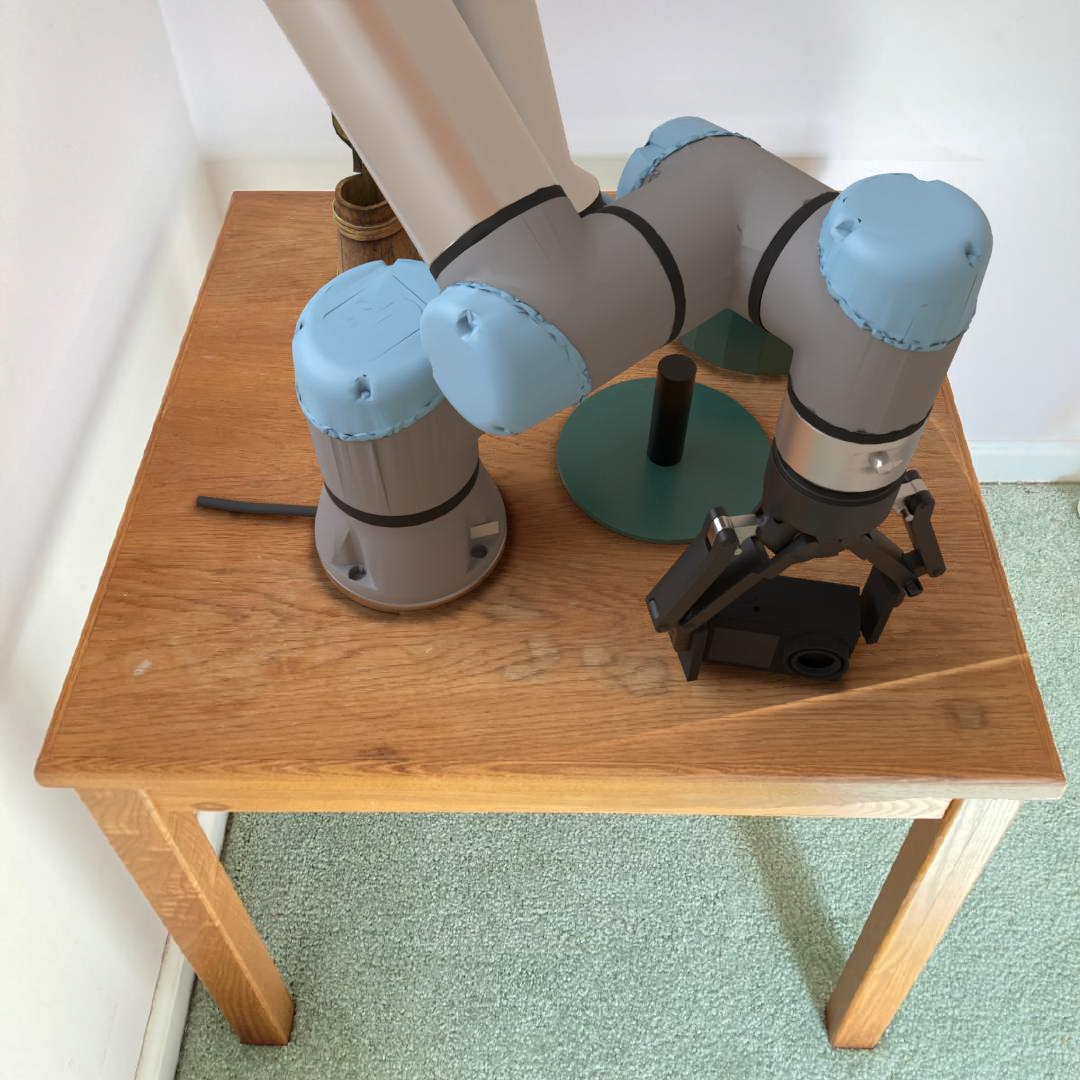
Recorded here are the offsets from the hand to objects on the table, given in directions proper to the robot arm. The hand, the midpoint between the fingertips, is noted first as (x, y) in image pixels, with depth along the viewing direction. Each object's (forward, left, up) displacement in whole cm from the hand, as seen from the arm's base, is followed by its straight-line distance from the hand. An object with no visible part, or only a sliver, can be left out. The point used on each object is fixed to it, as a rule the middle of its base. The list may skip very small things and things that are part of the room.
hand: (776, 646), depth 75 cm
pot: (+12, +36, -2) cm, 38 cm away
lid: (-2, +20, -2) cm, 21 cm away
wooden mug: (-22, +50, -2) cm, 55 cm away
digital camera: (0, 0, -2) cm, 2 cm away
